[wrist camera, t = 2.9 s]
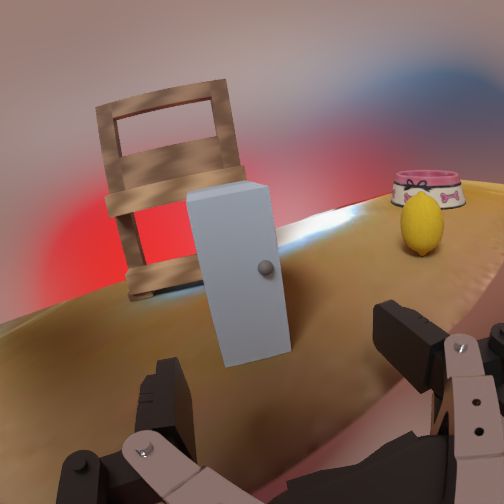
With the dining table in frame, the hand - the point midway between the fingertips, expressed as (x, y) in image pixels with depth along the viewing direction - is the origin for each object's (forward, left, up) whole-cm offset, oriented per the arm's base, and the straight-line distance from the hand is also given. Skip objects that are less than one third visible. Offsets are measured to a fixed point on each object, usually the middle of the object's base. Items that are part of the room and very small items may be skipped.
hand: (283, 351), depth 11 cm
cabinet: (0, +12, -7) cm, 14 cm away
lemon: (+23, +18, -7) cm, 30 cm away
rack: (-4, +28, -7) cm, 29 cm away
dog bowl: (+48, +44, -7) cm, 65 cm away
